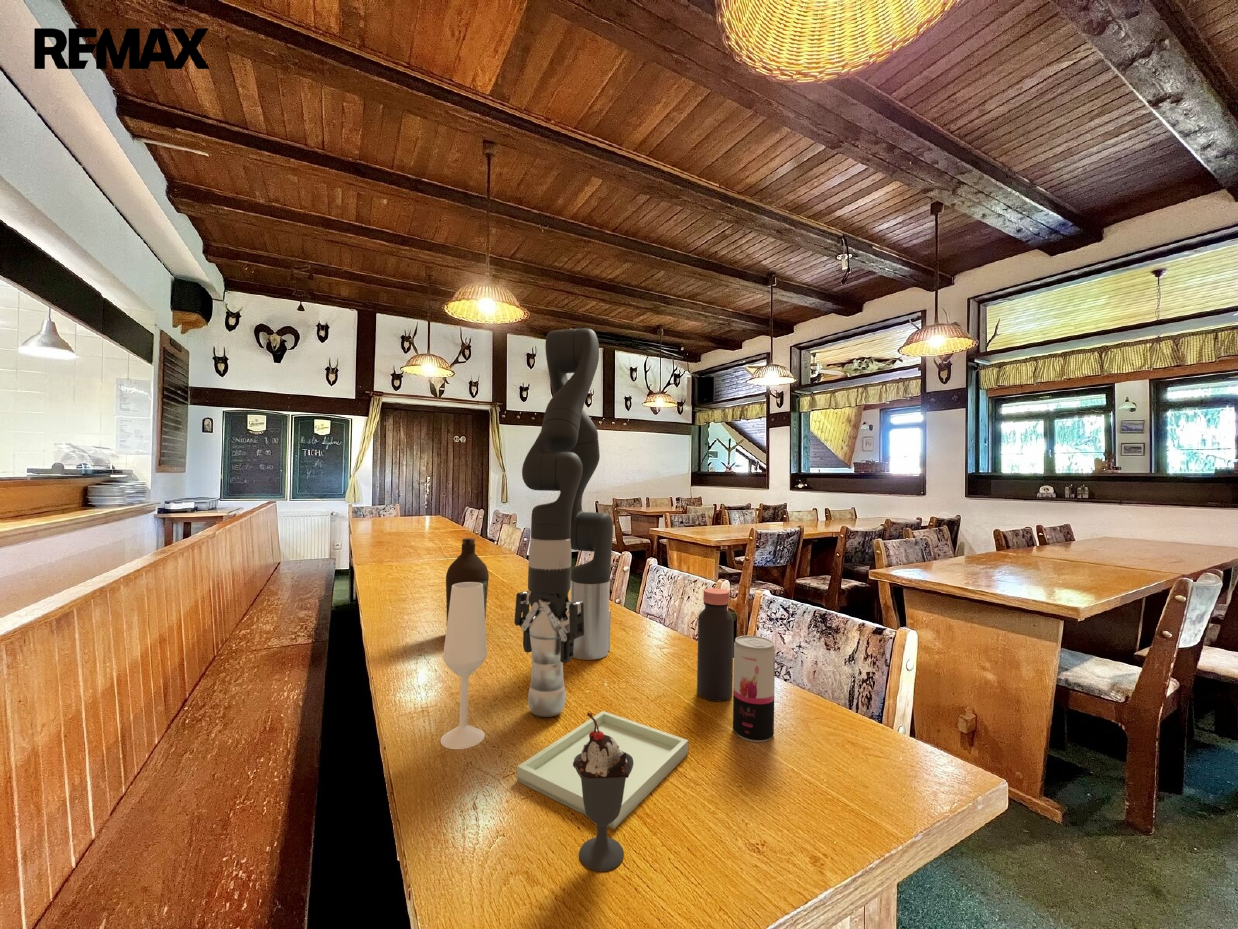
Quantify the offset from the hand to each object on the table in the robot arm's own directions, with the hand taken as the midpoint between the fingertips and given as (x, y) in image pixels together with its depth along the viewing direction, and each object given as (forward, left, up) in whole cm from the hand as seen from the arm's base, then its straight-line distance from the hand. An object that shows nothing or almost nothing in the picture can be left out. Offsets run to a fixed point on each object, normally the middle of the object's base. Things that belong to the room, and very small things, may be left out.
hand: (547, 656), depth 87 cm
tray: (+7, +18, -10) cm, 22 cm away
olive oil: (-19, -45, -10) cm, 50 cm away
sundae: (+21, +27, -10) cm, 36 cm away
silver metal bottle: (0, 0, -10) cm, 10 cm away
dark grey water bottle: (-25, +21, -10) cm, 34 cm away
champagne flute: (+14, -5, -10) cm, 18 cm away
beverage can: (-15, +32, -10) cm, 37 cm away
